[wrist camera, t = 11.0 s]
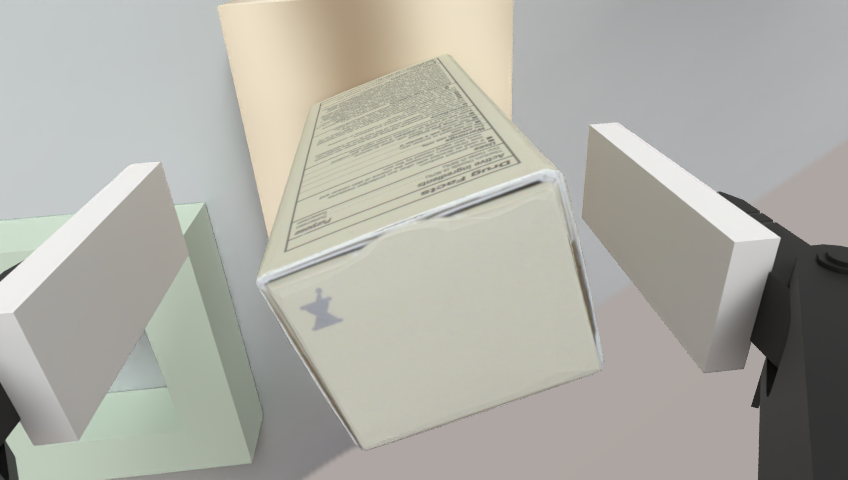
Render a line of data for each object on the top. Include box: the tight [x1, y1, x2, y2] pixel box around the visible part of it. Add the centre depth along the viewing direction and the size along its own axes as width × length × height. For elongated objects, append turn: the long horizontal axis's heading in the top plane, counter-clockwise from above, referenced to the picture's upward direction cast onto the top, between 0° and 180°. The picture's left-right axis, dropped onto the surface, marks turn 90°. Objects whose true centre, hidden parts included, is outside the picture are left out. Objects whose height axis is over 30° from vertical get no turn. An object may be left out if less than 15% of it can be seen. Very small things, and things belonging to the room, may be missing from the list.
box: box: [256, 54, 604, 450], centre depth 14 cm, size 5×4×11 cm
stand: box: [217, 0, 513, 238], centre depth 20 cm, size 9×9×3 cm
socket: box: [0, 202, 263, 480], centre depth 24 cm, size 11×12×3 cm
